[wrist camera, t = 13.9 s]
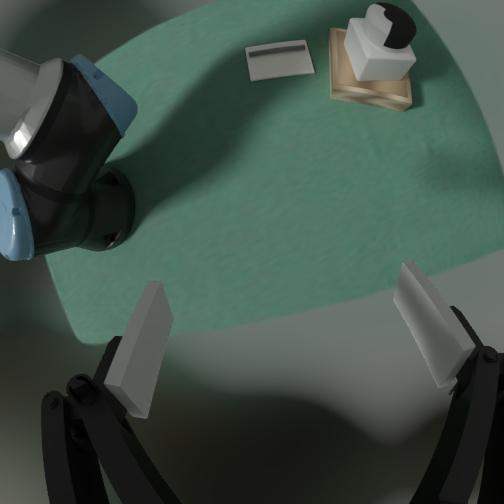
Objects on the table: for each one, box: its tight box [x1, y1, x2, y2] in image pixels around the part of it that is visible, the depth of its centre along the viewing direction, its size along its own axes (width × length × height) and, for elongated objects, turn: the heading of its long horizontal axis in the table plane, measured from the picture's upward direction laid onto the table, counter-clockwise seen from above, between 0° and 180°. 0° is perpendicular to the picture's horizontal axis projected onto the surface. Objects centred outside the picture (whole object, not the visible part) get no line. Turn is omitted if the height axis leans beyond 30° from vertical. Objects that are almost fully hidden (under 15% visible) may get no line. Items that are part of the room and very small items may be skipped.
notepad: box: [245, 40, 315, 82], centre depth 35 cm, size 10×7×2 cm
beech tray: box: [328, 27, 412, 112], centre depth 31 cm, size 12×12×4 cm
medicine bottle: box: [344, 3, 417, 81], centre depth 23 cm, size 7×7×12 cm
